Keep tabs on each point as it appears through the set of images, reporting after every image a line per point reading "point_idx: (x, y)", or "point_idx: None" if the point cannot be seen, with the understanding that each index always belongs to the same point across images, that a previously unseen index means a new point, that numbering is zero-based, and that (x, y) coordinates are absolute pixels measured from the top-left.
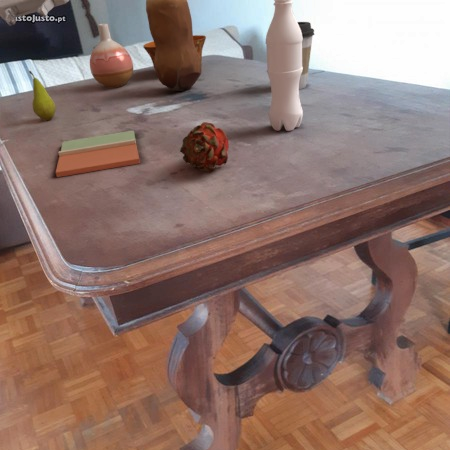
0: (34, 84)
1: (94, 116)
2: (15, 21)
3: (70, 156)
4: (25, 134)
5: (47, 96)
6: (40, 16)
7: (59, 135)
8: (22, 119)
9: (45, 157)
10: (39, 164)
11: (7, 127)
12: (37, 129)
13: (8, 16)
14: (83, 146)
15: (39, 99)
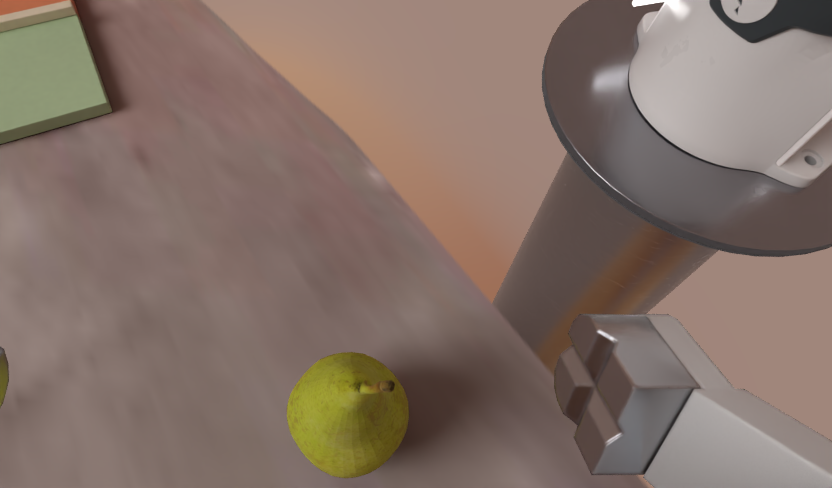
0: (355, 365)
1: (88, 467)
2: (580, 439)
3: (37, 5)
4: (341, 231)
5: (301, 397)
6: (5, 367)
7: (177, 209)
8: (516, 450)
9: (142, 44)
10: (139, 8)
11: (500, 326)
12: (322, 286)
13: (657, 347)
14: (14, 61)
15: (334, 359)
